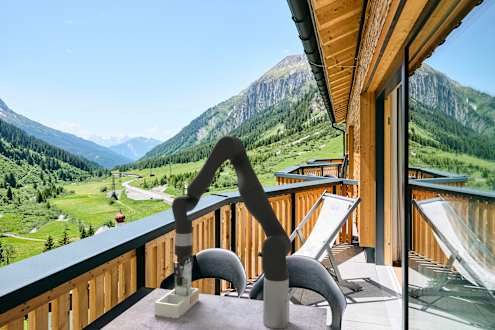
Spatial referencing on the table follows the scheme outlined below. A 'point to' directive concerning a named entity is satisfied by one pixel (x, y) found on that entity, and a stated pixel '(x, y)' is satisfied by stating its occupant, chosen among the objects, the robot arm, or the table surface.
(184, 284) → the syrup box
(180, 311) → the box
